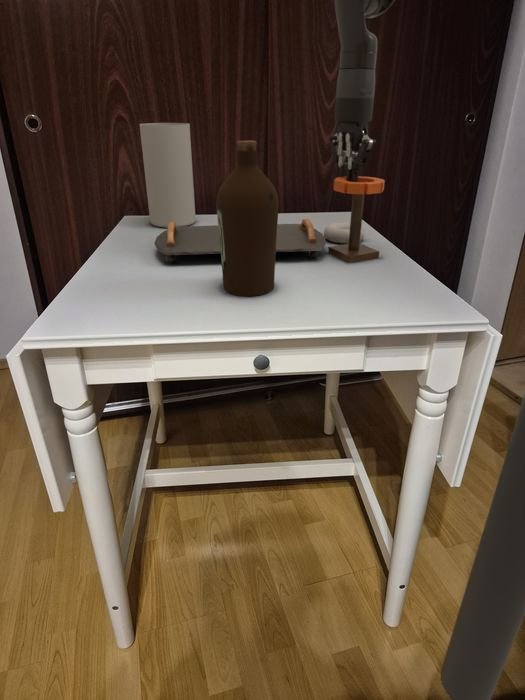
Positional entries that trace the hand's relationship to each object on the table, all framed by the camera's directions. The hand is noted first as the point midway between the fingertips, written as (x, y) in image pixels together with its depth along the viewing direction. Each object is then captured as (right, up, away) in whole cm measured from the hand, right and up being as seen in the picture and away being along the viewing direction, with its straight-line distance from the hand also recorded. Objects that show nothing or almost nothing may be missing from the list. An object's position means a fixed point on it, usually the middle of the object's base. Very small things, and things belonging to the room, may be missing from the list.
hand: (347, 186), depth 104 cm
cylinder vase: (-43, 0, +31) cm, 53 cm away
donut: (+2, -8, +15) cm, 17 cm away
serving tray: (-23, -12, +8) cm, 27 cm away
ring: (+2, -2, -3) cm, 4 cm away
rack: (+2, -14, +4) cm, 15 cm away
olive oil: (-21, -24, -14) cm, 35 cm away
